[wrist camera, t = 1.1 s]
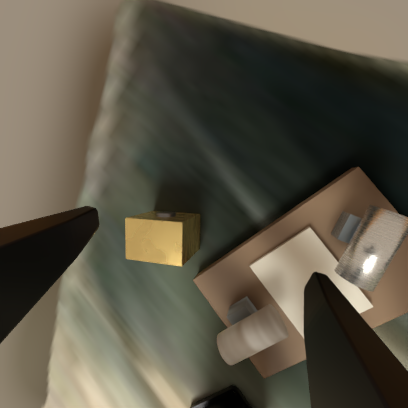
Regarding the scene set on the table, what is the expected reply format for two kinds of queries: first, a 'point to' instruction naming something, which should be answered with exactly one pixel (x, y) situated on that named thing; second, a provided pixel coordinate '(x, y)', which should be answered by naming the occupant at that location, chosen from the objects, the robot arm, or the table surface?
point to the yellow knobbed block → (162, 237)
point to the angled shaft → (369, 244)
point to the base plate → (296, 277)
